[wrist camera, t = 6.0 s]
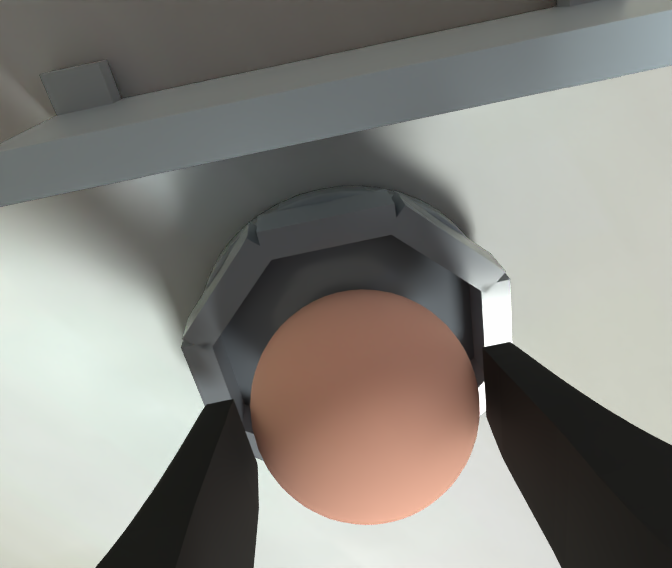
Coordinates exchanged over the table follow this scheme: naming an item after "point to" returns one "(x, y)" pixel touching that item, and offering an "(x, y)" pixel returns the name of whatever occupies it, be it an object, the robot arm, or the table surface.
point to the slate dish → (339, 281)
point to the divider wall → (323, 95)
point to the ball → (365, 407)
